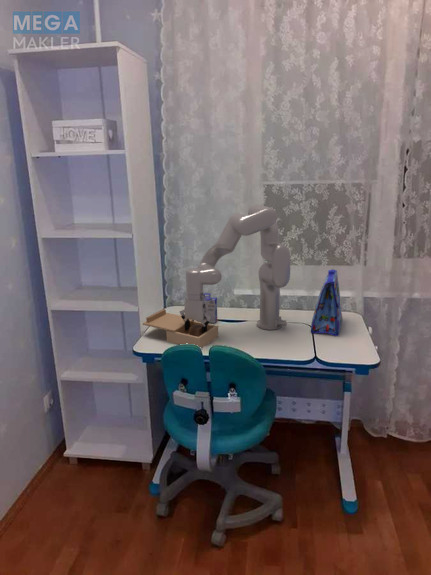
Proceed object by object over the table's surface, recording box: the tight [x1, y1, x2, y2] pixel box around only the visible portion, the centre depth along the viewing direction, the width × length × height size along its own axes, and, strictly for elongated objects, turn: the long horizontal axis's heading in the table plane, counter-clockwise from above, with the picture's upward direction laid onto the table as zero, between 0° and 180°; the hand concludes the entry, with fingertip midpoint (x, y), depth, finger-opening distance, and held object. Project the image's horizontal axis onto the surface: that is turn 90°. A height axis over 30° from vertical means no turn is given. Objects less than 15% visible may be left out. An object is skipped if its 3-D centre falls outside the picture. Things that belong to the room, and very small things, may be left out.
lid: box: [142, 308, 195, 332], centre depth 220 cm, size 18×16×3 cm
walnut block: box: [189, 324, 202, 337], centre depth 214 cm, size 5×5×6 cm
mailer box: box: [165, 320, 219, 349], centre depth 215 cm, size 18×16×5 cm
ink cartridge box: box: [197, 292, 218, 324], centre depth 235 cm, size 10×6×14 cm, turn 79°
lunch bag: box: [310, 269, 343, 337], centre depth 222 cm, size 22×14×29 cm, turn 161°
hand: (196, 331), depth 214 cm, fingers open, 9 cm apart
